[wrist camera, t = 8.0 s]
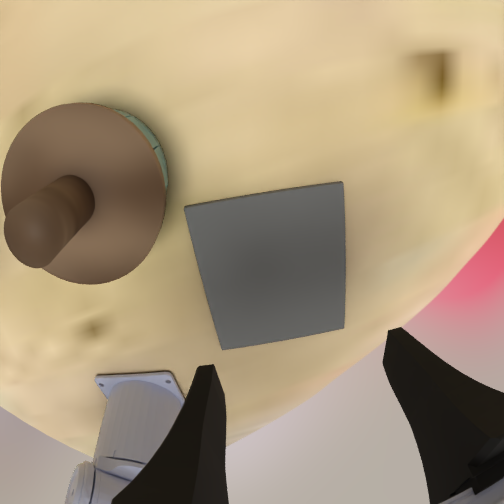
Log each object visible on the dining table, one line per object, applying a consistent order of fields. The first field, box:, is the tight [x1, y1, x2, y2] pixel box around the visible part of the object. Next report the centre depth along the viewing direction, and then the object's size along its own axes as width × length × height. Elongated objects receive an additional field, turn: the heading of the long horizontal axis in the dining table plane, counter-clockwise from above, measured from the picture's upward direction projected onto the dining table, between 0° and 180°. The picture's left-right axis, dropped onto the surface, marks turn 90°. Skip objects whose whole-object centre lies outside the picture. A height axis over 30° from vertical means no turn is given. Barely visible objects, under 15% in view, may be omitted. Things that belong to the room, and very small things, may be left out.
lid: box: [1, 103, 166, 285], centre depth 13 cm, size 10×10×5 cm
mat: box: [184, 181, 346, 350], centre depth 22 cm, size 12×10×1 cm
